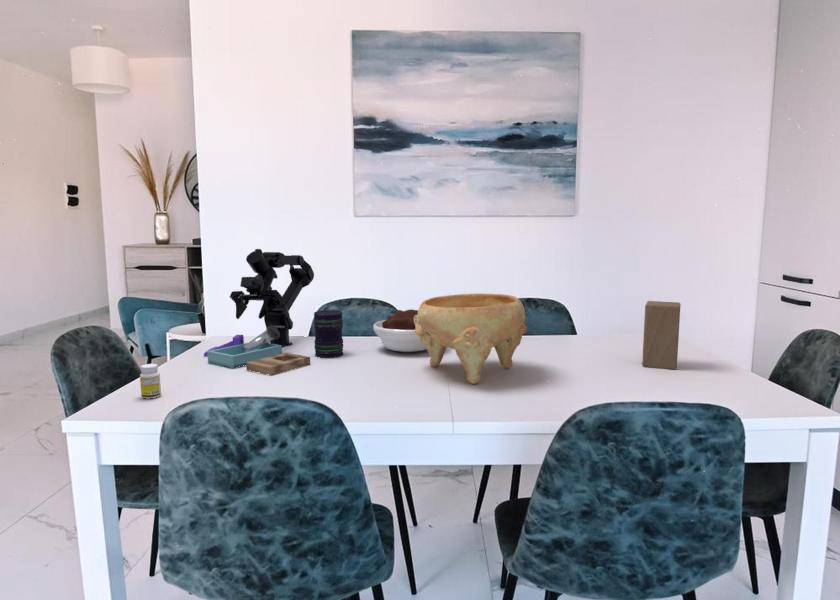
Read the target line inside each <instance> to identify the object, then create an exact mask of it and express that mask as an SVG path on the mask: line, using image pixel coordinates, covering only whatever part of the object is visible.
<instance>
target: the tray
mask: <svg viewBox="0 0 840 600" xmlns="http://www.w3.org/2000/svg"><path fill="white" fill-rule="evenodd" d="M247 343H248V342H244V344H240V345H235V346H230V347H226V348H221V349H216V350H211V351H208V350H207V351H208V357H207V364H211V365H214V364H215V366H218V365H220V366H219V367H223V366H226V367H225V368H228V367H231V368H230V369H232V368H235V369H237V368H236V367H239V366H243V365H246V362H250V361H255V360H259V359H263V358H267V357H271V356H275V355H279V354H283V346H282V345H277V344H271V343H270V342H269V343H268V344H266V345H265V346H263V347H262V348H261V349H259V350H255V351H251V352H246V353H244V352H243V349H242V348H243V346H244V345H246V344H247ZM243 367H244V366H243ZM239 368H240V367H239Z"/></svg>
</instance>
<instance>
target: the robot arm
mask: <svg viewBox="0 0 840 600" xmlns="http://www.w3.org/2000/svg"><path fill="white" fill-rule="evenodd" d="M245 261H246V263H247V264H248V265H249V267H250V268H251V269H252V271H253V272H254V273H256V275H255V276H241V278H240V279H241V280H240V285H239V287H241V288H244V289H245V291H246V292H247V293H248V294H245V292H244V291H243V290H234V291H231V293H230V295H229V298H230V299H231V300H232V301H233V302H234V303H235V318H236V319H237V320H239V319H240V318H241V317H242V315H243V314H244V312H245V311H246V310H247V308H248V304H249V303H250V301H263V302H262V306H261V307H260V310H259V314H258V318H259V320H260V319H262V318H263V321H264V324H265V328H267V327H269V326H270V325H273V326H275V327H276V328H277V329H278V331H279V333H280V337H279V338H277V339H276V340H272V341H270V342H269V343H271V344H277V345H282V347H284V346H283V345H286V346H289V345H288V344H290V345H292V344H293V342H290V332H289V331H290V330H292V329H293V327H294V321H293V320H292V319H291V316H290V310H291V308H292V307H293V304H294V303H295V301H296V300H297V298H298V296H299V295H300V293H301V291H302V289H303V288H306V287H307V286H309V285H310V284H311V283H312V282H313V280H314V278H315V272H314V270H313V268H312V266H311V265H310V264H309V263H308V262H307V261H306V260H305V258H304V256H302V255H301V254H291V255H285V254H284V253H283V252H280V251H265V252H263V250H262V248H255V249H254V251H251V252H250V253H249V254H248V255H247V256H246V259H245ZM285 266H289V271H288V272H289V275H290V279H291V281H290V283H289V285H288V286H287V288H286V289H285V292H284V293H283V294H281V293H280V292H279V291H278V290H277V289H273V287H272V284H273V281H274V279H278V278H279V277H278V274H277V271H276V270H275V269H280V268H283V267H285ZM294 266H300V267H294Z"/></svg>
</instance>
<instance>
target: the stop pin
mask: <svg viewBox="0 0 840 600" xmlns="http://www.w3.org/2000/svg"><path fill="white" fill-rule="evenodd" d="M265 328H266V327H265ZM279 337H280V333H279V331H278V329H277V328H276V327H275V326H273V325H270V326H269V327H267V328H266V330H264V331H262V333H260V334H259V335H258V336H256V337H255V338H253V339H251V340H250V341H249V342H246V343H247V344H246V345H244V346H243V348H242V349H243V352H244V353H246V352H251V351H255V350H259V349H261V348H262V347H263V346H265V345H266V344H268V343H270V341H272V340H276V339H277V338H279Z"/></svg>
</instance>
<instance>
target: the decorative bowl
mask: <svg viewBox="0 0 840 600" xmlns="http://www.w3.org/2000/svg"><path fill="white" fill-rule="evenodd" d="M417 310H418V315H415V316H414V324H415V332H416V334H417V335H418V336H419V338H420V340H421V343H422V344H423V345H425V347H426V350H427V352H428V354H429V357H430V359H429V364H430V366H431V367H432V368H435V367H438V366H439V365H440V364H441V362H442V360H443V358H444V354H445V352H446V350H447V348H448V349H452V350H455V353H456V356H457V357H458V359H459V361H460V363H461V364H462V366H463V368H464V371H465V374H466V379H467V382H468V383H470V384H471V385H477V384H478V383H480V381H481V376H482V375H481V371H482V368H483V365H484V363H485V361H487V359H488V358H489V356H490V354H491V352H492V349H493V348H494V350H495V352H496V355H497V357H498V361H499V363H500V365H501V366H502V367H504V368H507V369H509V368H511V367H512V366H513V359H512V358H513V355H514V353H515V351H516V350H517V349H516V348H517V347H518V346H520V344H521V341H522V338H523V335H525V334H526V333H527V331H528V327H527V325H526V324H525V322H526V315H525V307H524V305H523V303H522V301H521V300H520V298H518V297H517V296H514V295H510V294H503V293H502V294H501V293H461V294H460V293H459V294H448V295H441V296H433V297H431V298H428V299H425V300H423V301H422V302H421V303H420V305H419V307H418V309H417Z"/></svg>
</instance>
